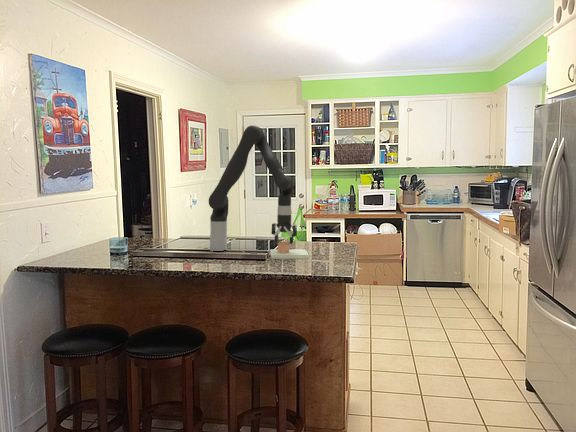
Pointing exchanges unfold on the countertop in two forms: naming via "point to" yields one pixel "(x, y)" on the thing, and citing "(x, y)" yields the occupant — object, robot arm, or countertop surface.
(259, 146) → the robot arm
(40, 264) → the countertop surface
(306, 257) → the post board
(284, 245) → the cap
